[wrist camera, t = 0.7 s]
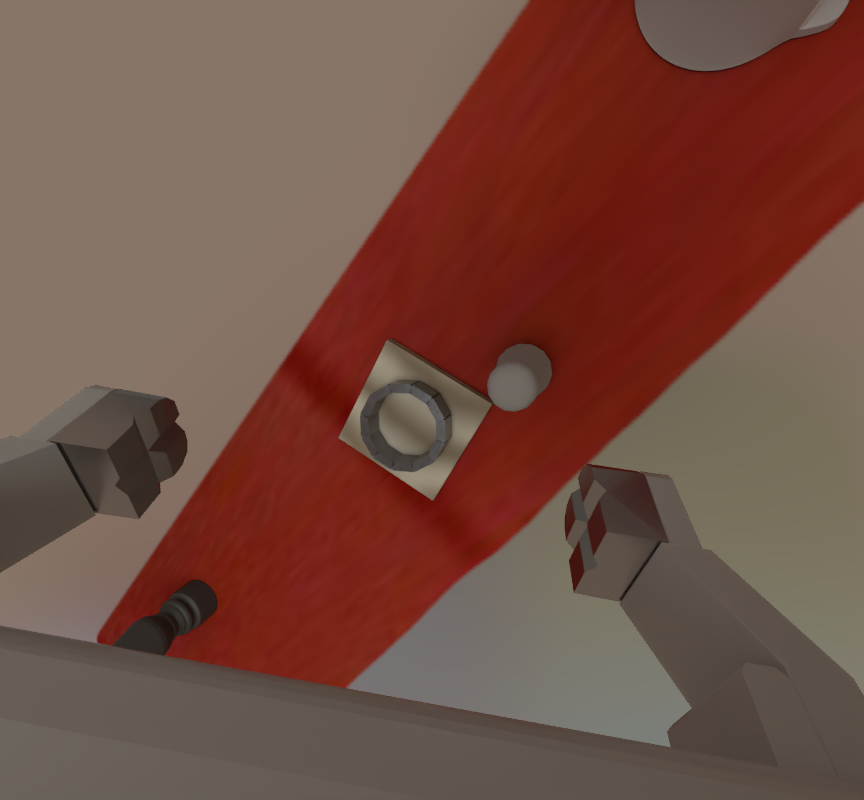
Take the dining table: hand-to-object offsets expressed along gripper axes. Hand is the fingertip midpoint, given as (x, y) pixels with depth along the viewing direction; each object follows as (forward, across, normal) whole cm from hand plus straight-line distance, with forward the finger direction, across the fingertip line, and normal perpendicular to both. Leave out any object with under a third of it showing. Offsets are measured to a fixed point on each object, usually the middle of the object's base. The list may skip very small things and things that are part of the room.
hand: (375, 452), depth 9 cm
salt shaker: (+36, -9, +19) cm, 42 cm away
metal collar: (+33, +3, +27) cm, 43 cm away
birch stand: (+35, +2, +28) cm, 45 cm away
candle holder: (+27, +32, +64) cm, 77 cm away
